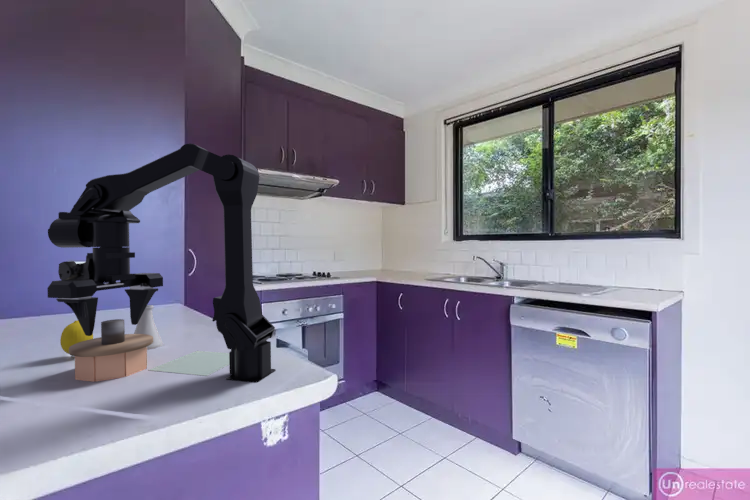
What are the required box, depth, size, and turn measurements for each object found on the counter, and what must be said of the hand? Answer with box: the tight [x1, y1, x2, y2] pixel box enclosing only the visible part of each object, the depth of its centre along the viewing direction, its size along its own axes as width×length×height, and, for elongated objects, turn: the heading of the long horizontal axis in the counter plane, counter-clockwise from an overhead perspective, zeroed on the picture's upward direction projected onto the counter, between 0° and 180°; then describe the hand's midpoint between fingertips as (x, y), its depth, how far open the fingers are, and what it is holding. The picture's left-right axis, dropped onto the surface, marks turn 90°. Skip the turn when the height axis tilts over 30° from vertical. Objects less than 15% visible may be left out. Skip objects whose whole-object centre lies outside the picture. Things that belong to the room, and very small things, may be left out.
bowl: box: [74, 347, 148, 382], centre depth 70 cm, size 11×11×5 cm
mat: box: [148, 350, 229, 377], centre depth 74 cm, size 13×13×1 cm
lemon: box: [59, 319, 94, 355], centre depth 80 cm, size 6×6×8 cm
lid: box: [68, 318, 153, 357], centre depth 70 cm, size 13×13×5 cm
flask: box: [133, 304, 165, 351], centre depth 86 cm, size 7×7×10 cm
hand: (113, 329), depth 70 cm, fingers open, 9 cm apart
